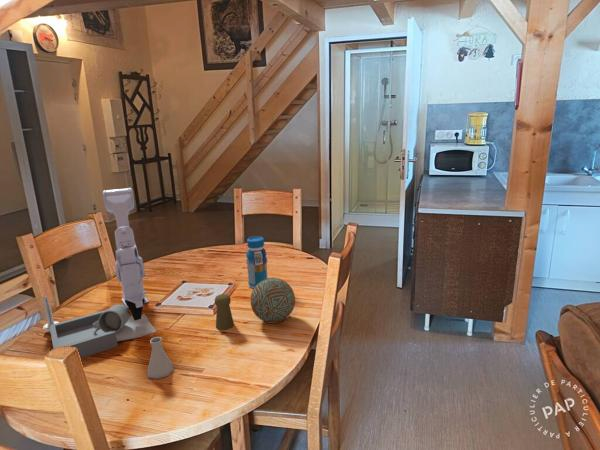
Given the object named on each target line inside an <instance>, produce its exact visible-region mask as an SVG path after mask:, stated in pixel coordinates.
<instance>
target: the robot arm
mask: <svg viewBox="0 0 600 450" xmlns="http://www.w3.org/2000/svg"><path fill="white" fill-rule="evenodd" d="M102 198H103V203H104V204H103V205H104V207H105V210H106V211H107V213H111V214H113V216H114V218H115V223H116V229H115V230H114V240H115V246H116V250H115V256H116V259H115V260H116V261H115V263H114V264H115V274H116V276H115V277H116V279H117V281H118V283H121V287H122V288H121V289H122V295H123V297H122V298H121V301H122V303H123V304H124V306H126V307H127V308H128V309H129V312H130V314H131V316H133V318H134V320H139V319H141V316H142V315H143V307H144V305H145V304H148V303H149V300H148V299H147V296H145V295H146V294H147V290H146V289H144V283H143V280H144V278H146V270H145V265H144V262H143V261H144V260H143V258H142V257H141V256H140V255H139V250H138V247H137V243H136V241H135V236H134V234H135V233H134V230H133V228H132V227H130V220H129V213H130V211H132V210H133V209H135V197H134V191H133V188H131V187H126V188H117V189H108V190H107V189H104V190H103V191H102Z"/></svg>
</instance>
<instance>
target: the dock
mask: <svg viewBox="0 0 600 450" xmlns="http://www.w3.org/2000/svg"><path fill="white" fill-rule="evenodd" d="M105 311H106V310H101V311H97V312H93V313H89V314H86V315H82V316H77V317H75V318H71V319H68V320H64V321H59V323H56V324H52V325H49V327H50V332H51V333H50V335H51V342H52V349H53V350H54V349H55V348H57V347H60V346H71V347H76V348H77V349H78V352H79V355H80V357H82V358H81V359H84V358H86V357H89V356H92V355H96V354H99V353H101V352H104V351H108V350H111V349H113V348H118V347H119V344H118V342H121V341H127V340H133V339H137V338H141V337H145V336H148V335H151V334H154V333H156V332H157V330H156V329H155V327H154V326H153V325H152V323H151V322H150V320H149V319H148V317H147V316H146V314H145V313H144V314H143V313H142V316H141V319H139V320H134V318H133V316H132V315H130V318H129V320H128V322H127V323H126V324H125V325H124V326H123V327H122V328H121V329H120V330H119V331H118V332H115V330H113V331H110V332H104V331H102V330H101V329H100V328H96V329H95V328H94V326H93V323H94V322H96V321H98V319H99V317H100V315H101V314H102V313H103V312H105Z"/></svg>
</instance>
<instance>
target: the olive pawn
mask: <svg viewBox="0 0 600 450" xmlns="http://www.w3.org/2000/svg"><path fill="white" fill-rule="evenodd" d="M231 300H232V299H231V297H230V295H229V294H227V293H220V294H218V295H216V296H215V298H214V305H215V306H216V314H215V315H216V320H215V328H216V329H217V330H219V331H227V330H231V329H232V328H233V327H234V326H235V323H234V319H233V315H232V310H231V306H230V304H231V303H232V301H231Z"/></svg>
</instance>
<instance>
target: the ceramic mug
mask: <svg viewBox="0 0 600 450" xmlns="http://www.w3.org/2000/svg"><path fill="white" fill-rule="evenodd" d="M130 316H131V311H130V309H129V308H127V307H126V306H125V305H123V304H115V305H112V306H110V307H109V308H107V309H106V310H105V312H103V313H102V314H101V315H100V317H99V319H98V321H96V322H94V323H93V326H94V328H95V329H96V328H100V329H101V330H102V331H104V332H110V331H113V330H115V332H118V331H119V330H120V329H121V328H122V327H123V326H124V325H125V324H126V323H127V322H128V320H129V318H130Z"/></svg>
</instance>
